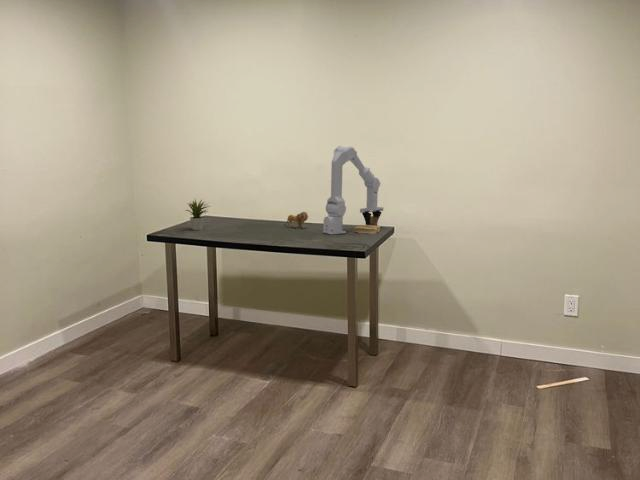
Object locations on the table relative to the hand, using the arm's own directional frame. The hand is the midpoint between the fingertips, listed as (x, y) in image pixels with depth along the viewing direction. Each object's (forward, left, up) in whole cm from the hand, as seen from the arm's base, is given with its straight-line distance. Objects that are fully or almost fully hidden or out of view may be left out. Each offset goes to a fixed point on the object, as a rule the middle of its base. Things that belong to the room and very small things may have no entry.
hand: (371, 225), depth 321 cm
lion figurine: (-33, +23, -2) cm, 40 cm away
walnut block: (0, 0, -2) cm, 2 cm away
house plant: (-81, +44, -2) cm, 92 cm away
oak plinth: (-9, -8, -2) cm, 12 cm away
